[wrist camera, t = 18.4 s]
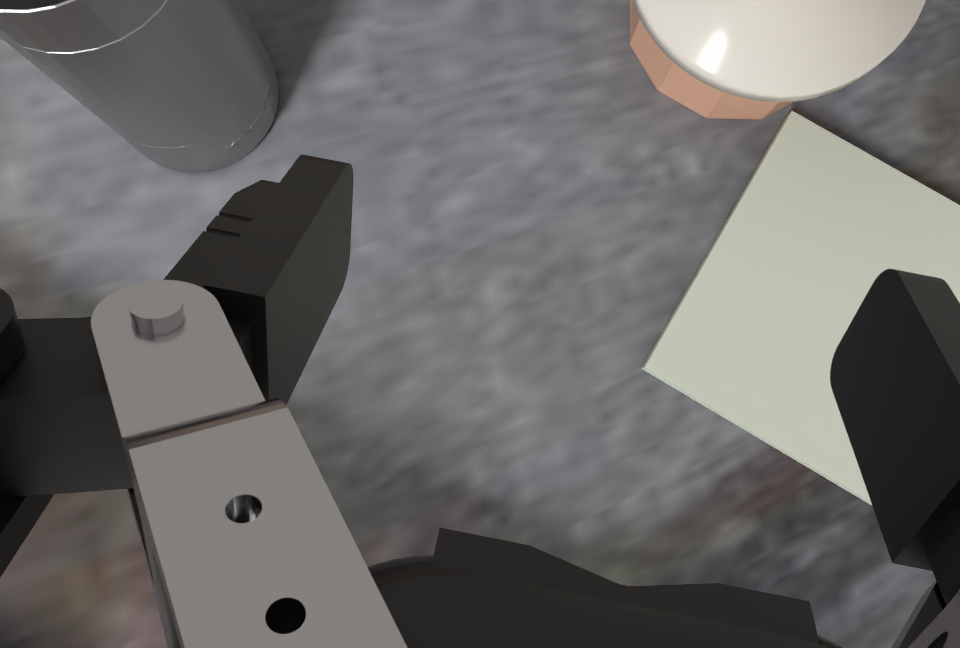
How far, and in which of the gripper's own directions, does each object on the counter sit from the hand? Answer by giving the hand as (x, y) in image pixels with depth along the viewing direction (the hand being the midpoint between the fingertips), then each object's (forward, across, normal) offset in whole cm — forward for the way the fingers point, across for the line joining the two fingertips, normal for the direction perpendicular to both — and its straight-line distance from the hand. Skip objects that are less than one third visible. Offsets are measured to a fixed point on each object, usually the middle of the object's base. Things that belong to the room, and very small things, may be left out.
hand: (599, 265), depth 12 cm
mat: (+27, -18, +17) cm, 36 cm away
